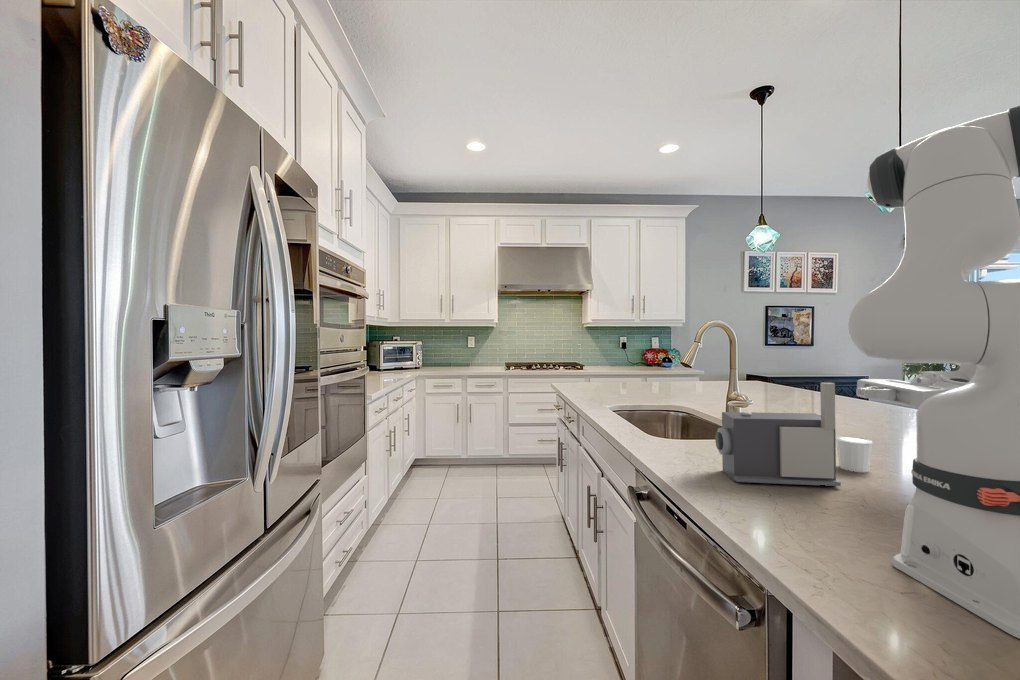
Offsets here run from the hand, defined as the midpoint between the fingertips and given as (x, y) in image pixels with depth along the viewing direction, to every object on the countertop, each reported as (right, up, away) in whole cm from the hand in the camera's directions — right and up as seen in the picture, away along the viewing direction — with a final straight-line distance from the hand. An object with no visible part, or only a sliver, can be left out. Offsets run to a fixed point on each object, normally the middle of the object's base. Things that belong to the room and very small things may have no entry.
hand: (860, 393), depth 87 cm
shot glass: (+10, -20, +13) cm, 26 cm away
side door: (-10, -18, +2) cm, 21 cm away
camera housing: (-14, -20, +7) cm, 25 cm away
